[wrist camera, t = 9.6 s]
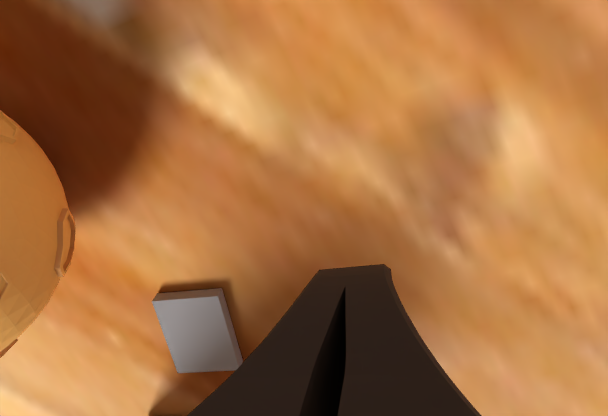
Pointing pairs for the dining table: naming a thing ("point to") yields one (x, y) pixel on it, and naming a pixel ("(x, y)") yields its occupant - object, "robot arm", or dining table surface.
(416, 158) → the dining table surface
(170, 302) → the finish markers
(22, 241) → the stress ball
